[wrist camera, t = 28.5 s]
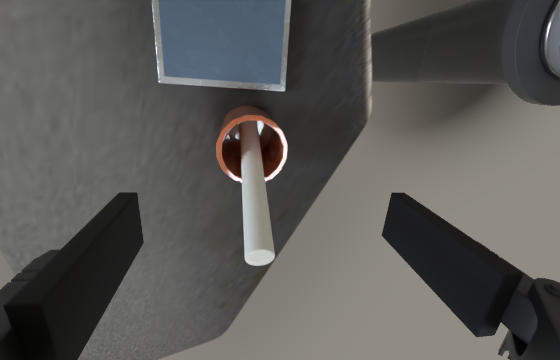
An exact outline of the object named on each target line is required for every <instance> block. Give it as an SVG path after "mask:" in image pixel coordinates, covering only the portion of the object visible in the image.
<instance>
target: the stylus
mask: <svg viewBox="0 0 560 360" xmlns="http://www.w3.org/2000/svg"><path fill="white" fill-rule="evenodd" d="M240 147H241V173H242V198H243V224H244V249H245V261H246V262H247V263H248V264H250V265H255V266H260V265H265V264H268V263H270V262H271V261H273V259H274V257H275V254H274V246H273V238H272V231H271V223H270V216H269V208H268V201H267V193H266V185H265V178H264V170H263V163H262V155H261V148H260V140H259V132H258V125H257V121H251V120H247V121H244V122H242V123H240Z"/></svg>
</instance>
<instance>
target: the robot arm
mask: <svg viewBox="0 0 560 360" xmlns="http://www.w3.org/2000/svg"><path fill="white" fill-rule="evenodd" d="M539 56H540V60H541V64H542V66H543V68H544V70H545V71H546V72H547V73H548V74H549V75H550V76H551V77H553V78H555V79H557V80H560V0H554V1H553V3H552V5H551V7H550V8H549V10H548V12H547V15H546V17H545V19H544V22H543V25H542V29H541V33H540V38H539ZM382 236H383V237H384V238H385V239H386V241H387V242H388V243H389V244H390V245H391V246H392V247H393V248H394V249H395V250H396V251H397V253H399V255H400V256H401V257H402V258H403V259H404V260H405V261H406V262H407V263H408V264H409V265H410V266H411V268H412V269H413V270H414V271H415V272H416V273H417V274H418V275H419V276H420V277H421V278H422V279H423V280H424V282H425V283H426V284H427V285H428V286H429V287H430V288H431V289H432V290H433V291H434V292H435V293H436V294H437V295H438V297H440V299H441V300H442V301H443V302H444V303H445V304H446V305H447V306H448V307H449V308H450V309H451V311H452V312H453V313H454V314H455V315H456V316H457V317H458V318H459V319H460V320H461V321H462V322H463V323H464V324H465V326H467V328H468V329H469V330H470V331H471V332H472V333H473V334H474V335H475V336H476V337H482V336H492V335H495V333H496V331H497V329H498V327H499V324H500V323H501V322H502V323H503V324H504V325H505V326H506V327H507V328H508V329H509V331H508V333H507V335H506V337H505V339H504V341H503V343H502V345H501V347H500V349H499V352H498V355H501V356H502V355H503V353H504V351H507V350H508V351H509V356H508V359H510V360H560V283H559V282H556V281H554V280H549V279H545V278H537V279H535V280H534V279H532V278H531V277H529V276H528V275H526V274H525V273H523V272H522V271H521V270H519V269H517V268H516V267H515V266H513V265H511V264H510V263H509V262H507V261H505V260H504V259H502V258H500V257H499V256H498V255H497V254H495V253H494V252H492V251H490V250H489V249H488V248H486V247H485V246H483V245H482V244H480V243H479V242H477V241H475V240H473V239H472V238H470V237H469V236H467V235H466V234H465V233H463V232H462V231H460V230H459V229H457V228H456V227H454V226H453V225H451V224H450V223H448V222H447V221H445V220H444V219H442V218H441V217H439V216H438V215H436V214H435V213H433V212H432V211H431V210H429V209H428V208H426V207H425V206H423V205H422V204H420V203H419V202H417V201H416V200H414V199H413V198H411V197H410V196H408V195H407V194H405V193H392V194H391V198H390V203H389V207H388V212H387V215H386V220H385V224H384V228H383V233H382ZM143 243H144V241H143V234H142V226H141V219H140V211H139V204H138V196H137V193H118V194H117V195H116V196H115V197H114V198H113V199H112V200H111V201H110V202H109V203H108V204H107V205H106V206H105V207H104V208H103V209H102V210H101V211H100V212H99V213H98V214H97V215H96V216H95V217H94V218H93V219H92V220H91V221H90V222H89V223H88V224H87V225H86V226H85V227H83V228H82V229H81V230H80V231H79V232H78V233H77V234H76V235H75V236H74V237H73V238H72V239H71V240H70V241H69V242H68V243H67V244H66V245H65V246H64V247H63V248H62V249H61V250H50V251H49V252H47V253H45V254H43V255H41V256H40V257H38V258H36V259H34V260H33V261H32V262H31V263H30V264H29V265H27V266H26V267H25V268H24V269H23V270H22V272H21V273H19V274H17V275H16V276H15V277H14V278H13V279H12V280H11V282H10V283H7V284H6V285H5V286H4V287H3V288H2V289H1V290H0V360H78V358H79V356H80V354H81V352H82V351H83V349H84V347H85V345H86V344H87V342H88V340H89V338H90V337H91V335H92V333H93V331H94V329H95V328H96V326H97V324H98V322H99V321H100V319H101V317H102V315H103V314H104V312H105V310H106V308H107V306H108V305H109V303H110V301H111V299H112V298H113V296H114V294H115V292H116V291H117V289H118V287H119V285H120V283H121V282H122V280H123V278H124V276H125V275H126V273H127V271H128V269H129V268H130V266H131V264H132V262H133V260H134V259H135V257H136V255H137V253H138V252H139V250H140V248H141V246H142V245H143Z"/></svg>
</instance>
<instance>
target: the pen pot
mask: <svg viewBox="0 0 560 360" xmlns="http://www.w3.org/2000/svg"><path fill="white" fill-rule="evenodd" d="M247 120H251V121H257V125H258V132H259V140H260V148H261V155H262V163H263V170H264V178H265V182H266V181H269V180H271V179H272V178H273V177H274V176H276V175H277V174H278V173H279V172H280V171H281V170H282V168H283V166H284V164H285V162H286V160H287V152H288V144H287V141H286V138H285V135H284V132H283V131H282V130H281V129H280V128H279V127H278V125H277V124H276V123H275V122H274V121H273V120H272V119H271V118H270V117H269V116H268V115H267V114H266V112H265V111H263V110H261V109H259V108H257V107H255V106H240V107H237V108H235V109H233V110H232V111H231V112H229V113H228V114H227V116H226V117H225V118H224V121H223V123H222V125H221V129H220V132H219V136H218V139H217V144H216V152H217V159H218V162H219V164H220V166H221V168H222V170H223V171H224V172H225V173H226V174H227V175H228V176H229V177H230V178H231V179H233V180H235V181H238V182H240V183H242V173H241V147H240V123H242V122H244V121H247Z"/></svg>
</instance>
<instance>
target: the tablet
mask: <svg viewBox="0 0 560 360" xmlns="http://www.w3.org/2000/svg"><path fill="white" fill-rule="evenodd" d="M291 1H292V0H152V9H153V21H154V32H155V44H156V56H157V67H158V79H159V83H160V84H176V85H191V86H206V87H221V88H236V89H251V90H266V91H282V92H285V86H286V72H287V57H288V43H289V29H290V15H291Z"/></svg>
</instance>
